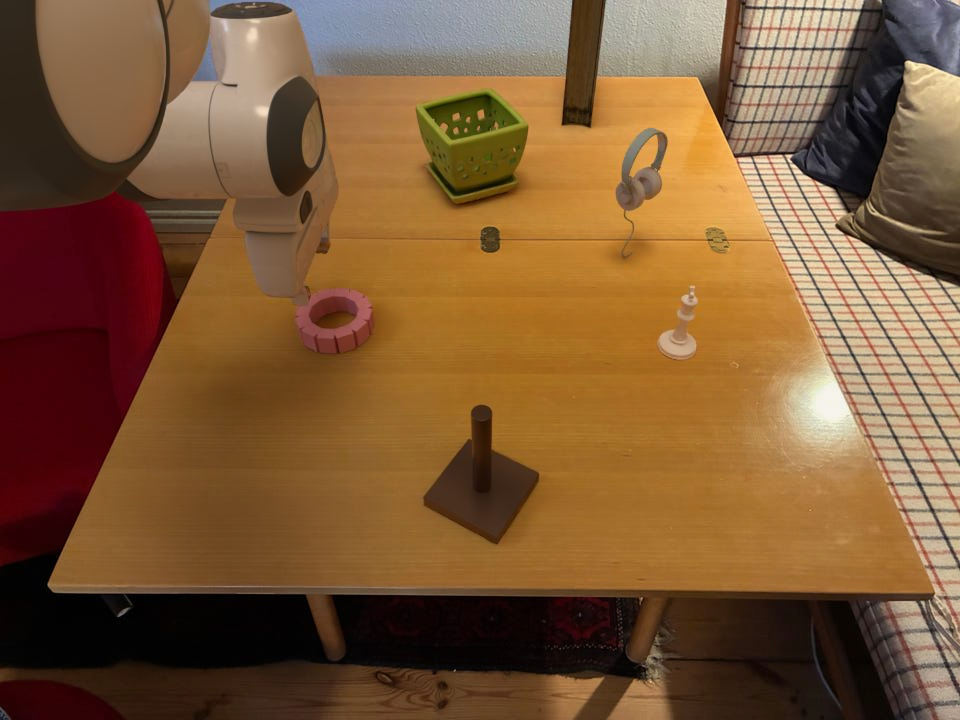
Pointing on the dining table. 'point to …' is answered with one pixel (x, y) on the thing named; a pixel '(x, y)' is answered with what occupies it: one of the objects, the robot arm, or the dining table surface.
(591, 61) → the book
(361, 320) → the ring
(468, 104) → the flower pot
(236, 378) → the dining table surface
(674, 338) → the chess piece
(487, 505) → the stand
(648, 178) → the headphones
